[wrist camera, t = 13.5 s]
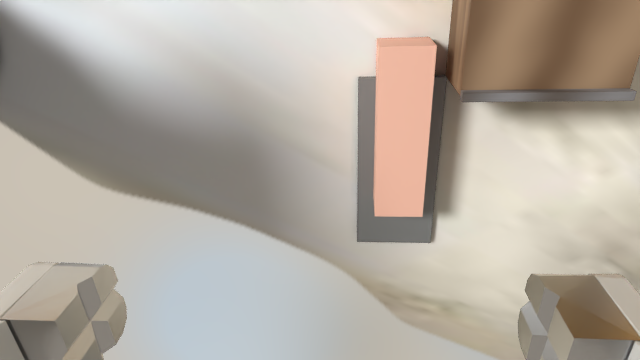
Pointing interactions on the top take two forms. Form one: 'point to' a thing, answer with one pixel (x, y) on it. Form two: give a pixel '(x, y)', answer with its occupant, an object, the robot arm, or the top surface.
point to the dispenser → (543, 50)
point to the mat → (367, 222)
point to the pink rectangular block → (402, 124)
